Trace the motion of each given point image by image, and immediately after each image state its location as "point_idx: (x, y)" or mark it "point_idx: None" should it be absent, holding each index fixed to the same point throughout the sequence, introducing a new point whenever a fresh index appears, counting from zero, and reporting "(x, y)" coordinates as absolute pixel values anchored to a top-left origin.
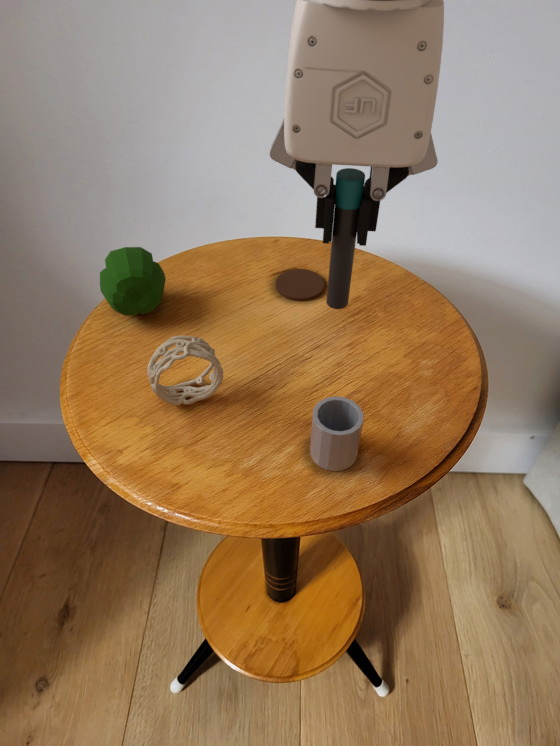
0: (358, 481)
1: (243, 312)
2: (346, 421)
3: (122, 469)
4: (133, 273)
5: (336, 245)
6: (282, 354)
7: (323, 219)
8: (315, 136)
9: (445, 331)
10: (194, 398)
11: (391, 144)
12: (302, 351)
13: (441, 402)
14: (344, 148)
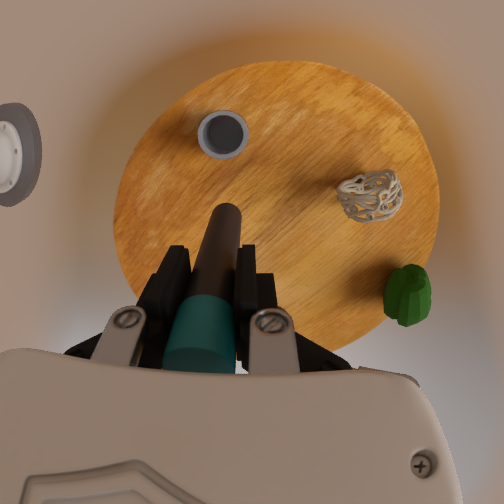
0: (204, 105)
1: (316, 286)
2: (215, 148)
3: (395, 111)
4: (416, 294)
5: (228, 253)
6: (280, 241)
7: (257, 282)
8: (344, 464)
9: (142, 280)
10: (354, 179)
11: (30, 409)
12: (262, 246)
13: (138, 201)
14: (196, 427)
